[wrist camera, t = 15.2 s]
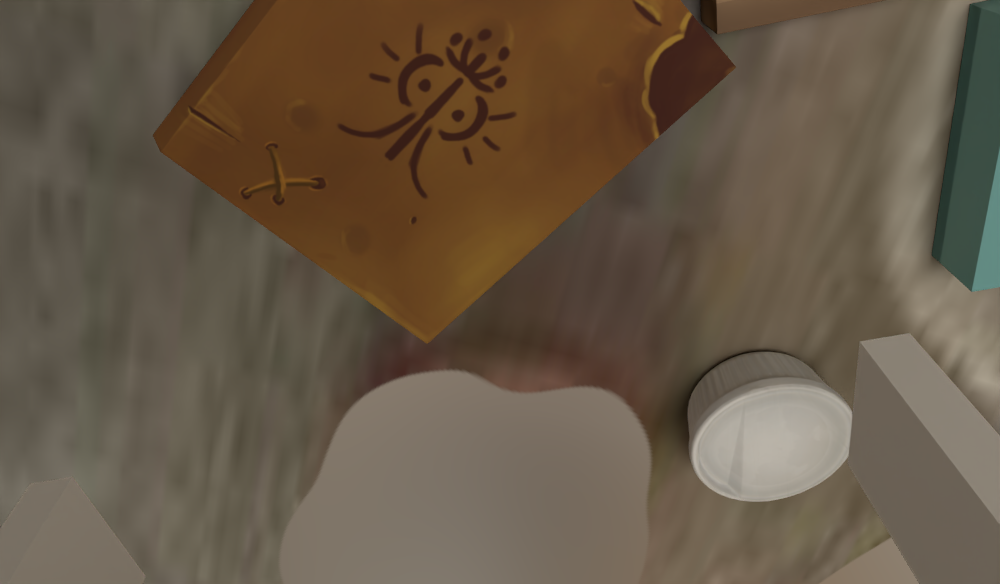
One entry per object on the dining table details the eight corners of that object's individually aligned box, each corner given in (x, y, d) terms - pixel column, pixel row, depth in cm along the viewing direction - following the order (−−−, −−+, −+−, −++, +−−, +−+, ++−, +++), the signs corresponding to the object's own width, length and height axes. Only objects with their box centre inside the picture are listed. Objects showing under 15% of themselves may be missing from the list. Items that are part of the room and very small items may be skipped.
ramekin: (645, 392, 54) (661, 443, 49) (780, 309, 50) (810, 356, 45) (721, 472, 58) (742, 525, 54) (850, 402, 55) (883, 452, 50)
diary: (456, -255, 33) (455, -270, 28) (703, 38, 40) (737, 66, 36) (182, 106, 41) (144, 143, 36) (430, 294, 49) (426, 346, 44)
